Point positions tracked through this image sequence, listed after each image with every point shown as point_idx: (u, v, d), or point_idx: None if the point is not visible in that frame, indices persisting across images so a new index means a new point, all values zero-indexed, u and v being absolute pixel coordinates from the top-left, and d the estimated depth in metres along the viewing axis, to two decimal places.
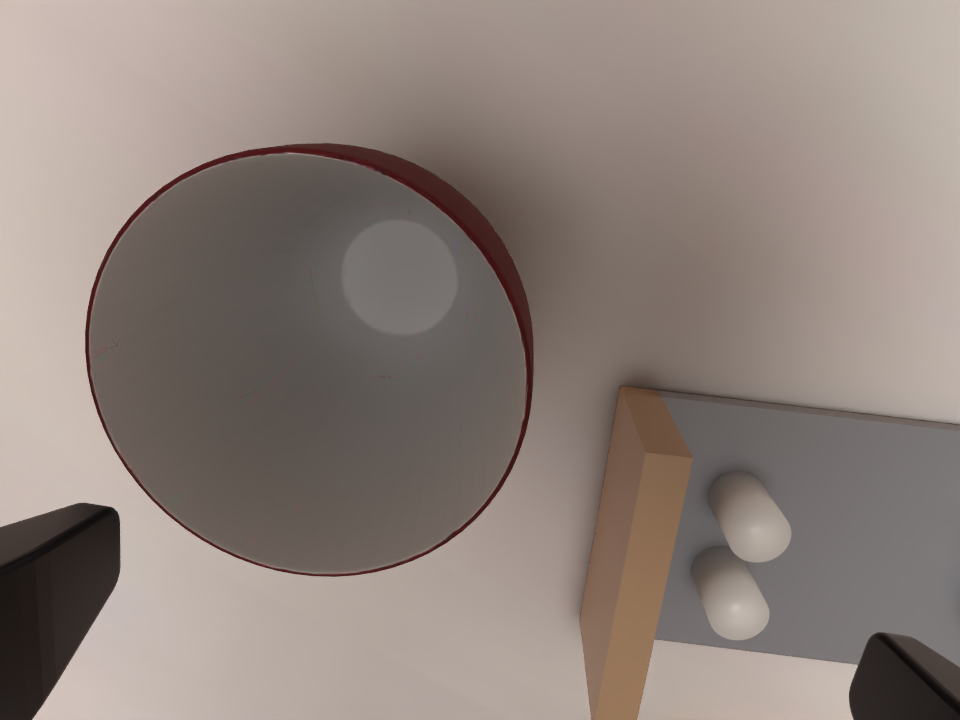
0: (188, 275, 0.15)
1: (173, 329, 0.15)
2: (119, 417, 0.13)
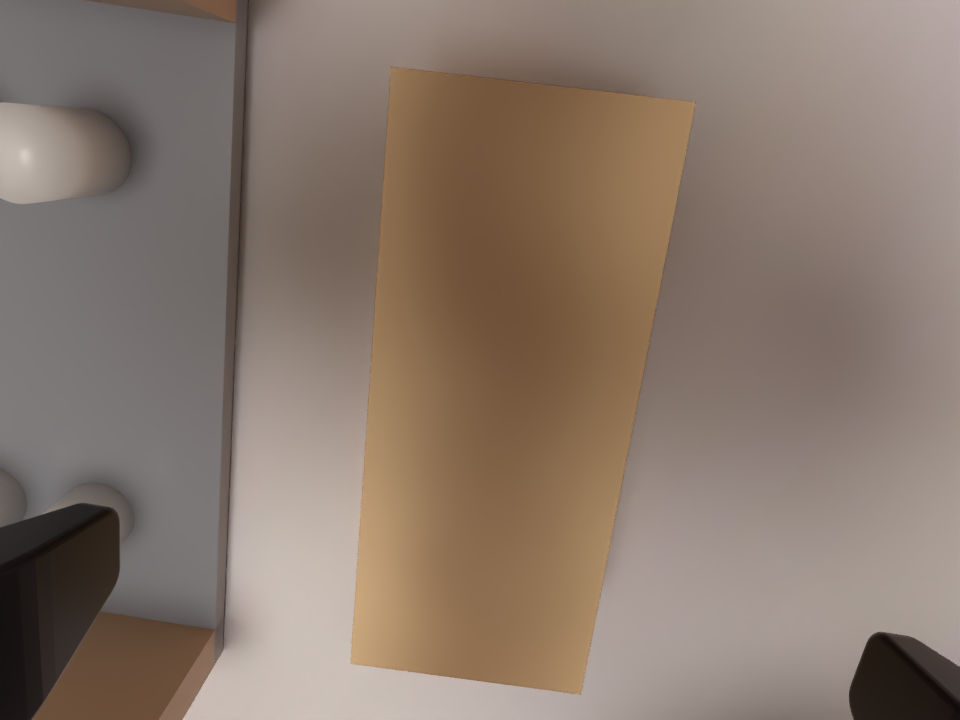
0: None
1: None
2: None
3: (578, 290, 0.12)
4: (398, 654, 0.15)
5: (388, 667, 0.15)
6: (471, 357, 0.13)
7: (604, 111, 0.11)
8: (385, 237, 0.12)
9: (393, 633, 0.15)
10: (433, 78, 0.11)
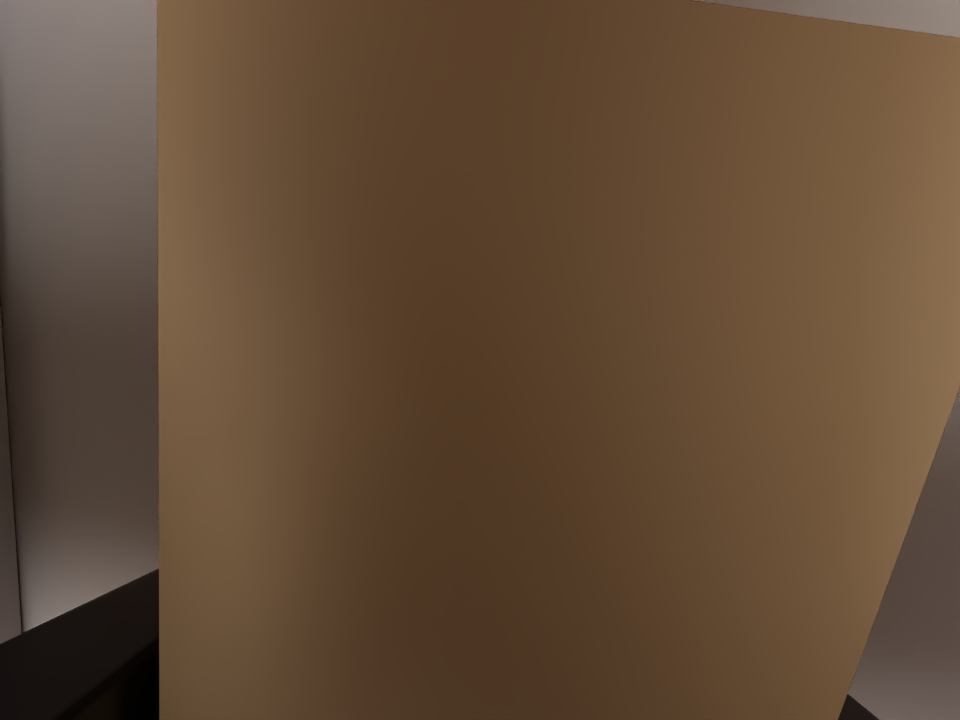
0: None
1: None
2: None
3: (678, 552, 0.05)
4: None
5: None
6: (404, 686, 0.05)
7: (794, 78, 0.04)
8: (175, 402, 0.05)
9: None
10: None
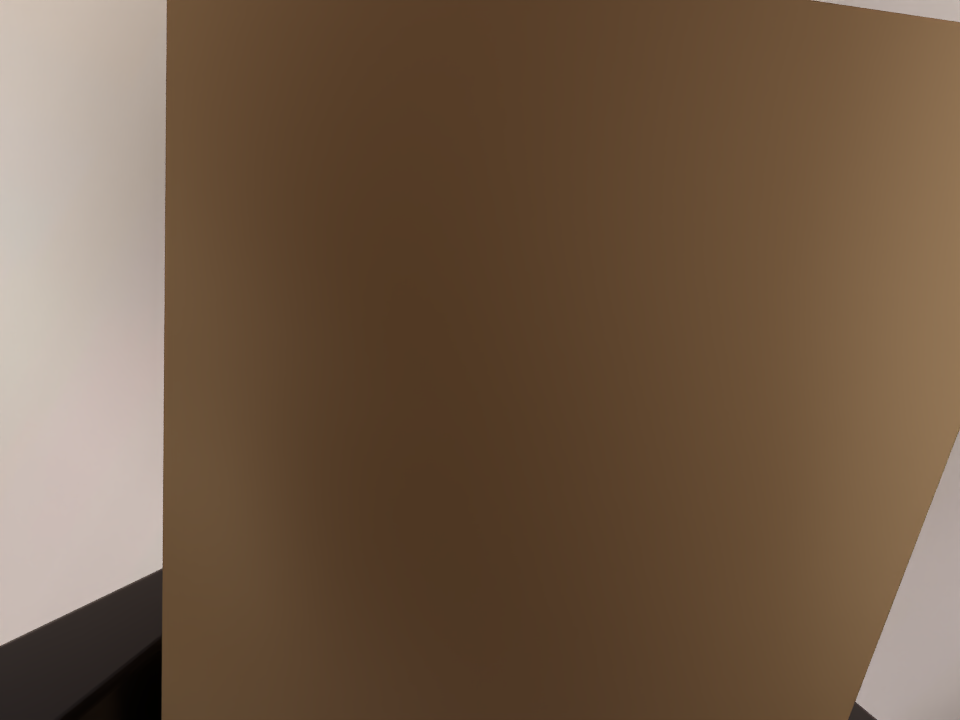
0: None
1: None
2: None
3: (689, 548, 0.05)
4: None
5: None
6: (410, 682, 0.05)
7: (815, 66, 0.04)
8: (181, 392, 0.05)
9: None
10: None
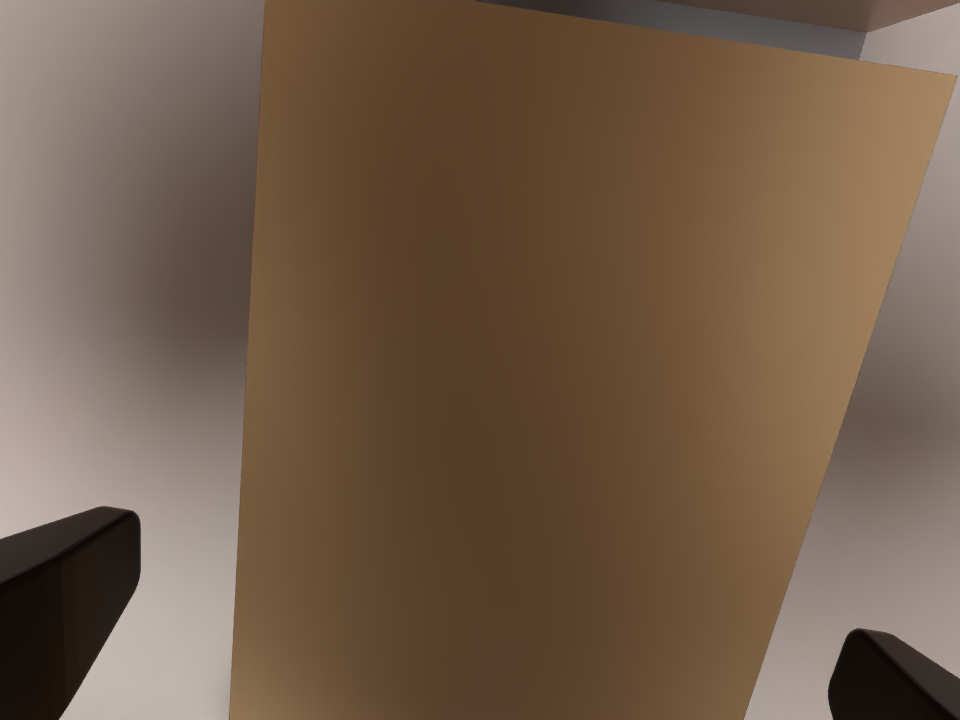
0: None
1: None
2: None
3: (656, 461, 0.06)
4: None
5: None
6: (435, 574, 0.06)
7: (745, 90, 0.05)
8: (261, 338, 0.06)
9: None
10: None
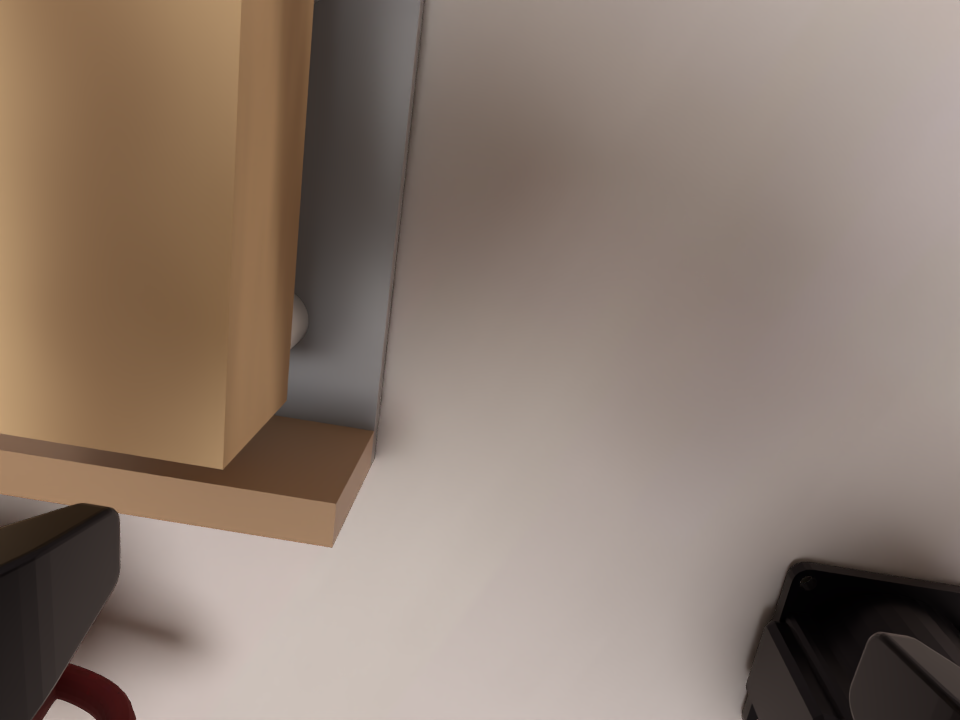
0: None
1: None
2: None
3: None
4: (30, 420, 0.14)
5: (22, 436, 0.14)
6: (59, 66, 0.12)
7: None
8: None
9: (20, 395, 0.14)
10: None
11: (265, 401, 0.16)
